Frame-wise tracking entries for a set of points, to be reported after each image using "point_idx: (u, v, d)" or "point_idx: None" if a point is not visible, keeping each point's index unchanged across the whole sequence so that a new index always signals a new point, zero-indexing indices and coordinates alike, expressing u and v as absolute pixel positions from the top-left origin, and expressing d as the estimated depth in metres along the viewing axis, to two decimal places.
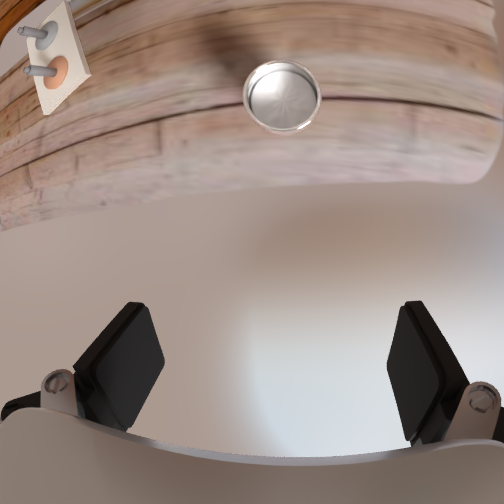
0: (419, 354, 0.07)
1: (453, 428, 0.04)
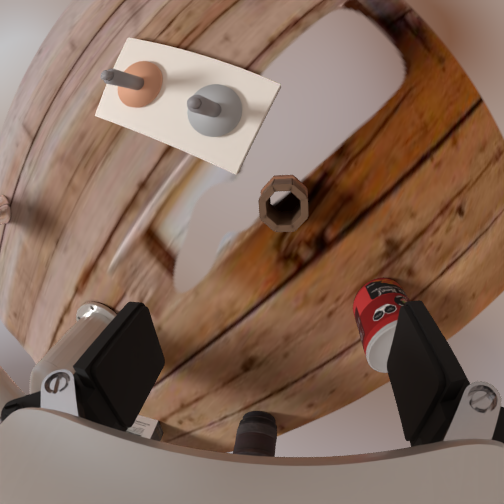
0: (419, 354, 0.07)
1: (453, 428, 0.04)
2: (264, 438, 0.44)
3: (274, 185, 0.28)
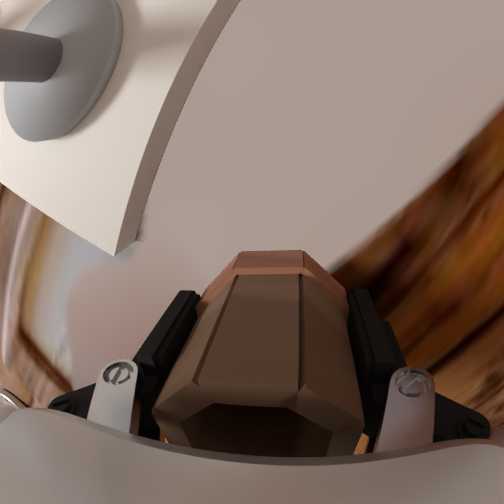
0: (356, 337, 0.08)
1: (388, 419, 0.05)
2: None
3: (206, 383, 0.05)
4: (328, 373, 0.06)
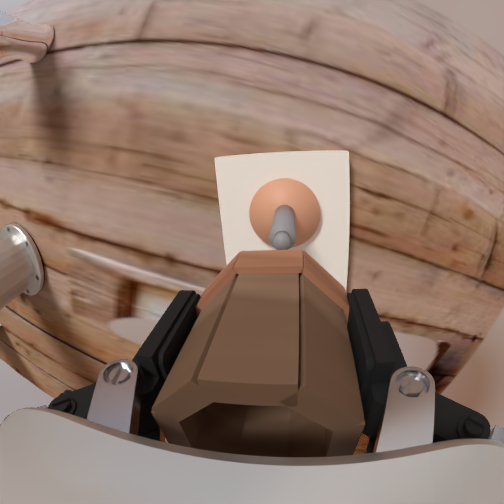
0: (356, 337, 0.08)
1: (388, 419, 0.05)
2: None
3: (206, 382, 0.05)
4: (328, 372, 0.06)
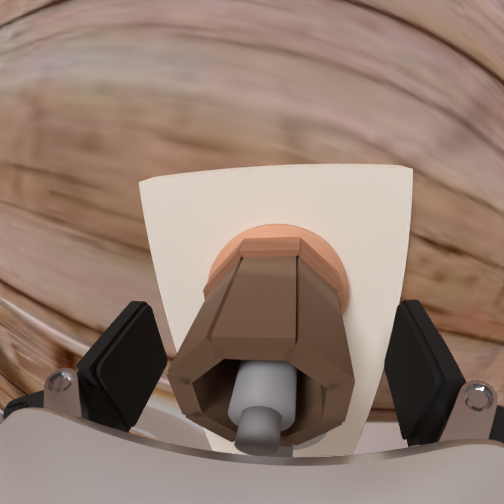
0: (415, 353, 0.07)
1: (449, 427, 0.04)
2: None
3: (218, 338, 0.06)
4: (321, 334, 0.07)
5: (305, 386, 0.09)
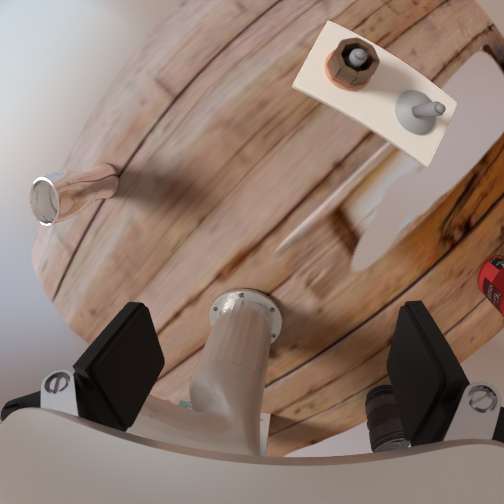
0: (419, 354, 0.07)
1: (453, 428, 0.04)
2: None
3: (335, 51, 0.25)
4: None
5: (367, 58, 0.26)
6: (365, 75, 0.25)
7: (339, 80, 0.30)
